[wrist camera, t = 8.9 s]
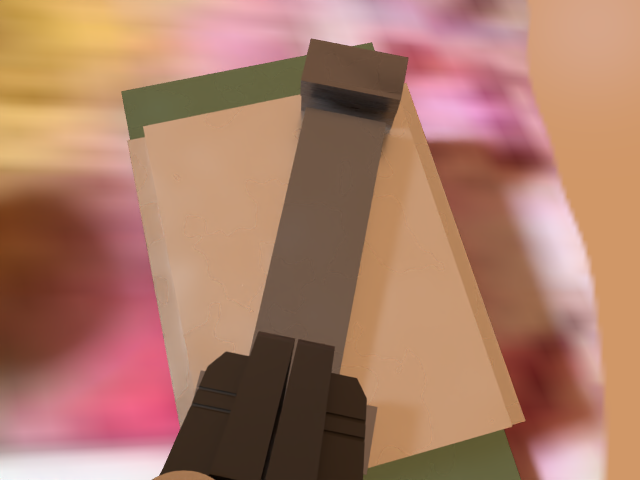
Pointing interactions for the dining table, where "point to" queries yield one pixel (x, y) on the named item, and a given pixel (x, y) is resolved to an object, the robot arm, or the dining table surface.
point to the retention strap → (322, 231)
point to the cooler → (375, 267)
